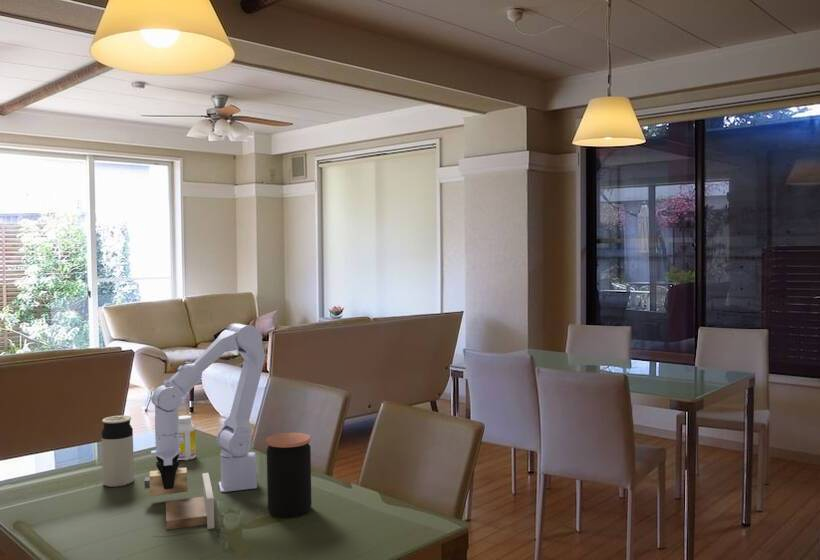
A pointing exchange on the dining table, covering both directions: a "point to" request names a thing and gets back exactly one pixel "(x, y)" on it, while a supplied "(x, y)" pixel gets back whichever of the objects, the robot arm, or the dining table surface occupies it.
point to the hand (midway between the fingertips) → (168, 485)
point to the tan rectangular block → (157, 485)
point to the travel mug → (117, 451)
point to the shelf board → (208, 500)
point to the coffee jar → (289, 474)
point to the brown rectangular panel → (185, 513)
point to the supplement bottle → (186, 438)
